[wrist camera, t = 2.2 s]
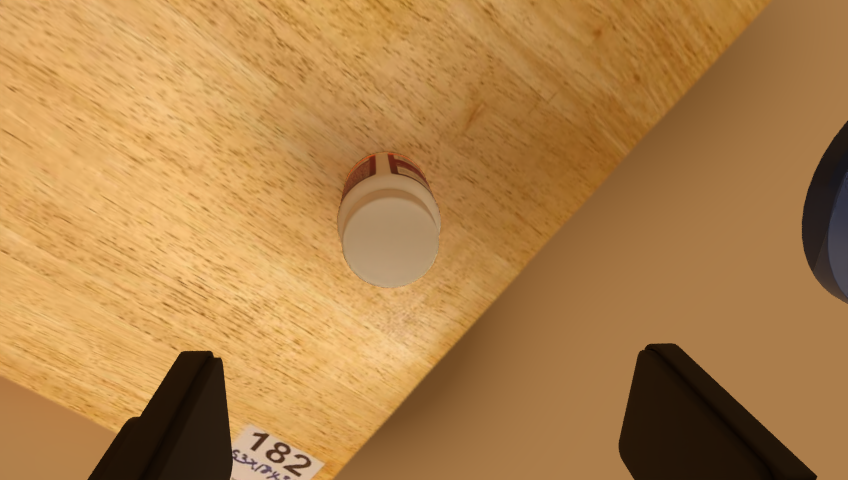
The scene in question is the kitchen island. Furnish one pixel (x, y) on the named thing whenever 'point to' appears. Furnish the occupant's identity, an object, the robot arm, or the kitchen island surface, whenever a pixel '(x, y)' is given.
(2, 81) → the kitchen island surface
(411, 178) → the pill bottle
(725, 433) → the robot arm
